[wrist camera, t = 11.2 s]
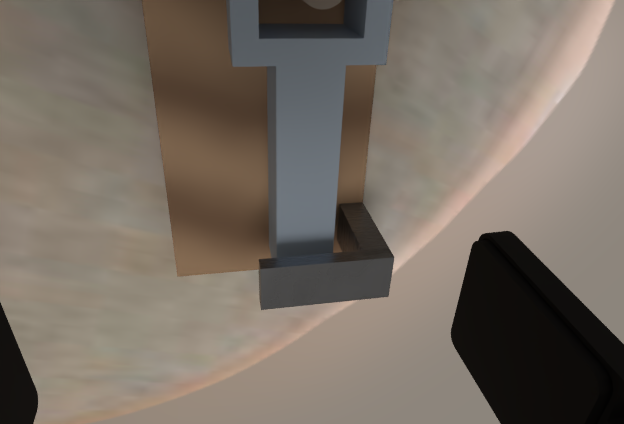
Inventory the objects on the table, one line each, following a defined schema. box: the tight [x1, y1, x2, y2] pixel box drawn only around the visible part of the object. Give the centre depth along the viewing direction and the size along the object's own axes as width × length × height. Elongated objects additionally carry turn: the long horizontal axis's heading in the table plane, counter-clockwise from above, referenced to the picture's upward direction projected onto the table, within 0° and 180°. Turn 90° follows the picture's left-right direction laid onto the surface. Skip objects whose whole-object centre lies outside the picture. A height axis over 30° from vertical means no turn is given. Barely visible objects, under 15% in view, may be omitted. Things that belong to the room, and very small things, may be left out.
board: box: [142, 0, 376, 276], centre depth 23 cm, size 21×11×6 cm, turn 178°
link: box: [226, 0, 393, 258], centre depth 23 cm, size 18×7×4 cm, turn 178°
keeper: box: [259, 202, 394, 310], centre depth 27 cm, size 2×7×7 cm, turn 88°
